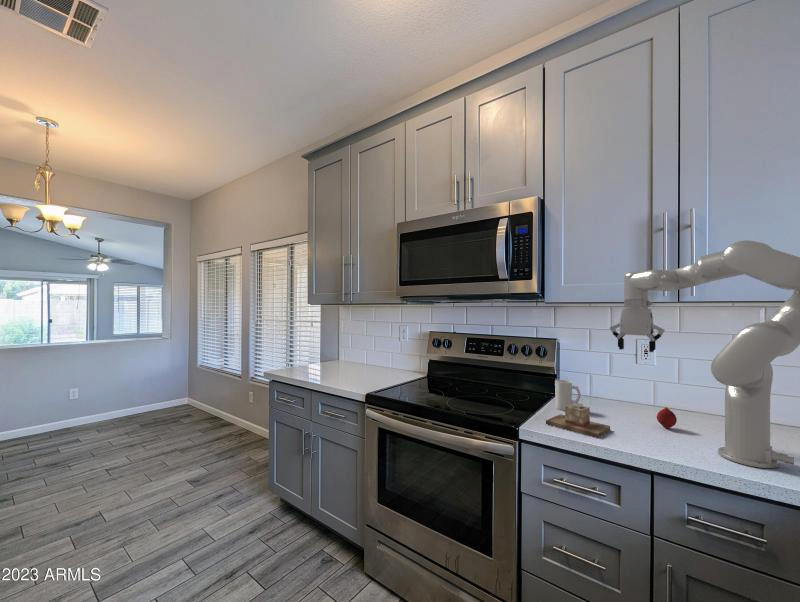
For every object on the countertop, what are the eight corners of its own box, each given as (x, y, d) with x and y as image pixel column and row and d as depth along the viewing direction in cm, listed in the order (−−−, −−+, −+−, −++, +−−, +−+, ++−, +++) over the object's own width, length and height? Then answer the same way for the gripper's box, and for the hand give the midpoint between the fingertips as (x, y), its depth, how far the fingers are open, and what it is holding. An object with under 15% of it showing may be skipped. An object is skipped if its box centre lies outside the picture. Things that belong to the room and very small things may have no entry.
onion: (677, 428, 129) (677, 406, 129) (675, 432, 125) (675, 410, 125) (658, 424, 133) (658, 403, 133) (655, 428, 129) (655, 406, 129)
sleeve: (589, 423, 129) (589, 407, 129) (582, 427, 125) (583, 410, 125) (572, 419, 134) (572, 403, 134) (565, 422, 130) (565, 406, 130)
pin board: (610, 430, 127) (610, 425, 127) (597, 438, 119) (597, 433, 119) (560, 417, 140) (560, 414, 140) (545, 424, 132) (545, 420, 132)
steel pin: (583, 423, 129) (583, 404, 129) (579, 425, 127) (579, 405, 127) (574, 421, 132) (574, 402, 132) (571, 422, 130) (571, 404, 130)
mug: (553, 409, 152) (553, 381, 152) (557, 405, 157) (557, 379, 158) (578, 413, 146) (578, 384, 146) (582, 409, 151) (582, 382, 151)
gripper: (666, 305, 128) (667, 352, 127) (613, 304, 140) (613, 347, 140) (661, 304, 123) (661, 353, 122) (607, 304, 136) (607, 349, 135)
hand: (636, 350), depth 131 cm, fingers open, 9 cm apart
